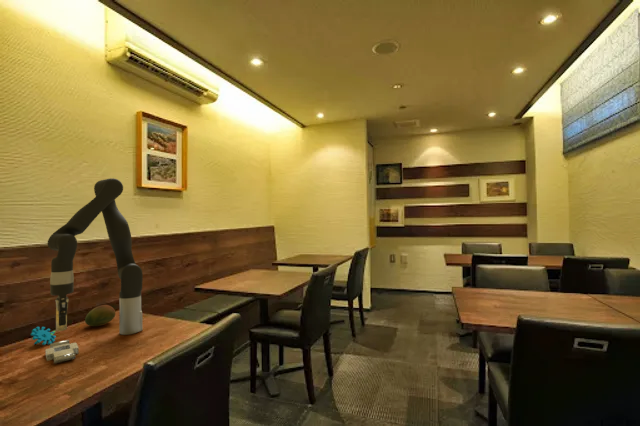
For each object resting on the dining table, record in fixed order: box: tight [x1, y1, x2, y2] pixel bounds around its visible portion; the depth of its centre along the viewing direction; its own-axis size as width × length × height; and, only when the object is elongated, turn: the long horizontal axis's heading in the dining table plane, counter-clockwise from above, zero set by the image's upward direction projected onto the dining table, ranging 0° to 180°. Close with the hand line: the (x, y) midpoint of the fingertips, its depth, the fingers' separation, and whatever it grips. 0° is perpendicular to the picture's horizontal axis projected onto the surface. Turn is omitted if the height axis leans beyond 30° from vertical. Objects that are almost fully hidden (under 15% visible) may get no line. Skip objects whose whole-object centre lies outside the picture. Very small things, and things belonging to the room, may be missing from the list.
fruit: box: [84, 304, 116, 327], centre depth 167 cm, size 12×13×10 cm
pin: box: [55, 307, 68, 332], centre depth 132 cm, size 4×4×9 cm
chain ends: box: [45, 339, 80, 365], centre depth 132 cm, size 10×22×3 cm, turn 43°
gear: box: [30, 326, 57, 346], centre depth 143 cm, size 11×6×10 cm
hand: (61, 323), depth 132 cm, fingers closed on pin, 3 cm apart
